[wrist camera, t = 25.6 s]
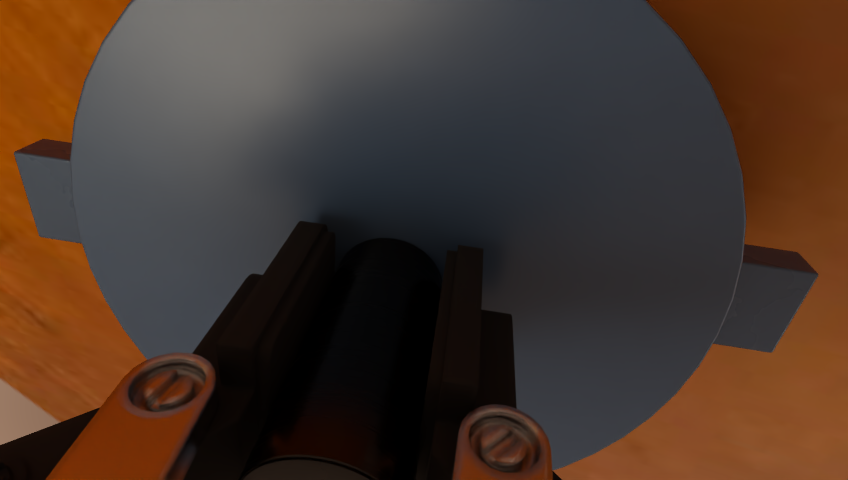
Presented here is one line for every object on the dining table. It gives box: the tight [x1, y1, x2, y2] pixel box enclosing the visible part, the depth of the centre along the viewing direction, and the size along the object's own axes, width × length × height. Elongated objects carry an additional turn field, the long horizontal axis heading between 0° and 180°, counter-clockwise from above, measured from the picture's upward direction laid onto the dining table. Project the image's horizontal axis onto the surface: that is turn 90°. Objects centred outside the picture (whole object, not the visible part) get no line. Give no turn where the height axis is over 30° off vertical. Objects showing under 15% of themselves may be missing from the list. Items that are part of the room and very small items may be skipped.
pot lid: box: [70, 0, 746, 480], centre depth 10 cm, size 15×15×7 cm
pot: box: [14, 139, 818, 353], centre depth 15 cm, size 14×19×6 cm
